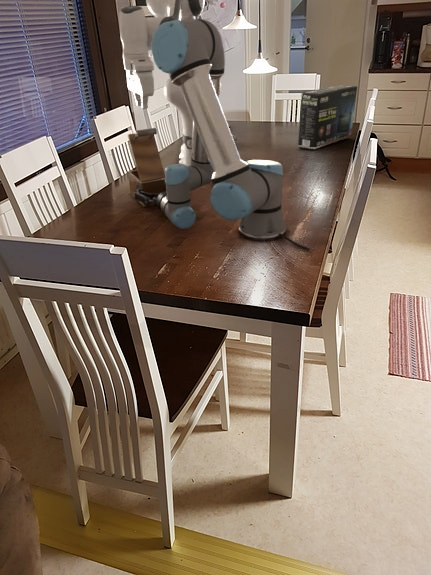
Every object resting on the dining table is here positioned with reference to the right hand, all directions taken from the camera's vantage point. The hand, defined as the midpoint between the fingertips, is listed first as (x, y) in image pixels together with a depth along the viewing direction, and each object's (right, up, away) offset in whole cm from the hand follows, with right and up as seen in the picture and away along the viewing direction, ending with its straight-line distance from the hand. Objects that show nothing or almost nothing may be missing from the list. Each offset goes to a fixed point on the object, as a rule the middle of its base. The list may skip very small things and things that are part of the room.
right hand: (150, 186), depth 175 cm
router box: (+83, +38, +70) cm, 115 cm away
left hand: (-1, +24, -15) cm, 29 cm away
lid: (-1, +10, -5) cm, 11 cm away
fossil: (+27, +37, +72) cm, 85 cm away
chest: (-2, -3, +6) cm, 7 cm away
